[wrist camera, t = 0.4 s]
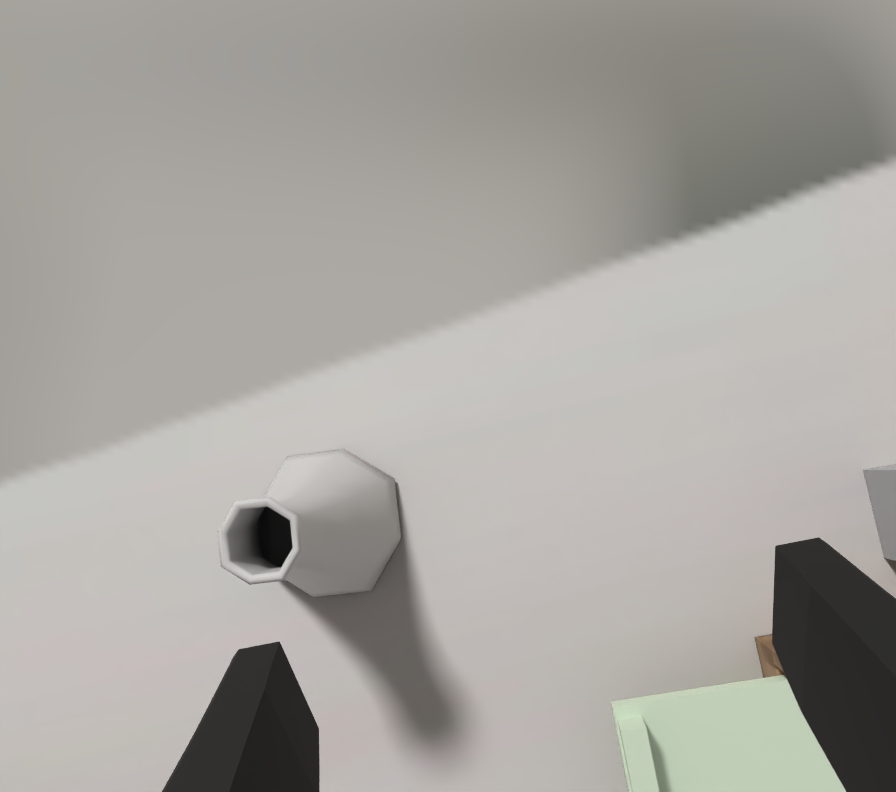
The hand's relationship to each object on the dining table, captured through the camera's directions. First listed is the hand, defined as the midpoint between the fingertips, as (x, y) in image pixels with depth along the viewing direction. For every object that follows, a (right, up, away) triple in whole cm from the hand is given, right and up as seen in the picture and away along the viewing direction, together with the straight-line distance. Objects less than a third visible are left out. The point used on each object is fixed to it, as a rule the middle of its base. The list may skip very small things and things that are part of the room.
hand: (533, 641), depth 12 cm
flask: (-7, -3, +27) cm, 28 cm away
